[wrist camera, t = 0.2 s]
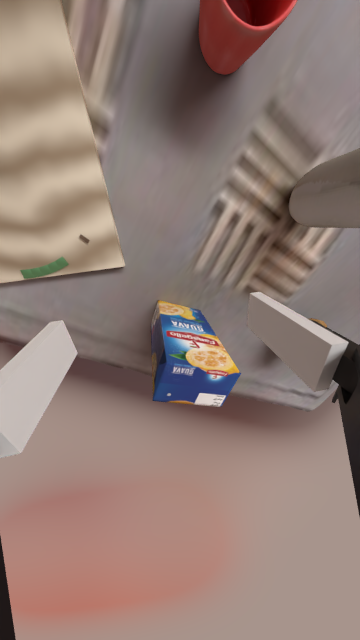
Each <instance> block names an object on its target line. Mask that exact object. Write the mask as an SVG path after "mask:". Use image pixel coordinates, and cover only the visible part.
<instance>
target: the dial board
mask: <svg viewBox="0 0 360 640" xmlns="http://www.w3.org/2000/svg"><path fill="white" fill-rule="evenodd" d="M124 266H125V263H124V258H123V254H122V250H121V246H120V242H119V238H118V234H117V229H116V225H115V221H114V217H113V213H112V209H111V205H110V200H109V196H108V192H107V188H106V184H105V180H104V175H103V171H102V167H101V163H100V159H99V155H98V151H97V146H96V142H95V138H94V134H93V130H92V126H91V122H90V117H89V113H88V109H87V105H86V101H85V97H84V93H83V88H82V84H81V80H80V76H79V72H78V68H77V64H76V59H75V55H74V51H73V47H72V43H71V39H70V35H69V30H68V26H67V22H66V18H65V14H64V10H63V5H62V1H61V0H0V283H5V282H13V281H20V280H27V279H35V278H42V277H50V276H57V275H65V274H72V273H80V272H87V271H94V270H102V269H109V268H117V267H124Z"/></svg>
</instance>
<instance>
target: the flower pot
mask: <svg viewBox="0 0 360 640" xmlns="http://www.w3.org/2000/svg"><path fill="white" fill-rule="evenodd" d="M296 2H297V0H200V14H199V41H200V47H201V51H202V54H203V56H204V59H205V61H206V62H207V64H208V65H209V67H210V68H211V69H212V70H213V71H215V72H216V73H219V74H223V75H226V74H230V73H233V72H234V71H236V70H237V69H238V68H239V67H240V66H241V65H242V64H243V63H244V62H245V61H246V60H247V59H248V58H249V57H250V56H251V55H252V54H253V53H254V52H255V51H256V50H257V49H258V48H259V47H260V46H261V45H262V44H263V43H264V42H265V41H266V40H267V39H268V38H269V37H270V36H271V35H272V33H273V32H274V31H275V30H276V29H277V28H278V27H279V26H280V25H281V24H282V22H283V21H284V20H285V19H286V18H287V16H288V15H289V14H290V12H291V11H292V9H293V8H294V6H295V4H296Z"/></svg>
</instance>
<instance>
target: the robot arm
mask: <svg viewBox="0 0 360 640" xmlns="http://www.w3.org/2000/svg"><path fill="white" fill-rule="evenodd" d="M247 326H248V327H249V328H250V329H251V330H252V331H253V332H254V333H255V334H256V335H257V336H258V337H259V338H260V339H261V340H262V341H263V342H264V343H265V344H266V345H267V346H268V347H269V348H270V349H271V350H272V351H273V352H274V353H275V354H276V355H277V356H278V357H279V358H280V359H281V360H282V361H283V362H284V363H285V364H286V365H287V366H288V367H289V368H290V369H291V370H292V371H293V372H294V373H295V374H296V375H297V376H298V377H299V378H300V379H301V380H302V381H303V382H304V383H305V384H306V385H308V386H309V387H310V388H311V389H312V390H313V391H314V392H316V391H321V390H326V389H329V386H330V384H331V382H332V380H334V381H335V382H336V383H338V384H339V386H338V388H337V390H336V392H335V395H334V397H333V399H332V402H333V403H335V402H336V400H337V399H339V404H340V410H341V415H342V422H343V427H344V433H345V438H346V444H347V449H348V455H349V460H350V466H351V471H352V477H353V483H354V488H355V494H356V499H357V505H358V510H359V515H360V345H358V344H356V343H354V342H352V341H351V340H349V339H347V338H345V337H343V336H342V335H340V334H338V333H336V332H334V331H332V330H331V329H329V328H327V327H325V326H323V325H322V324H320V323H318V322H316V321H313V320H310V319H307V318H305V317H303V316H302V315H300V314H298V313H296V312H294V311H293V310H291V309H289V308H287V307H286V306H284V305H282V304H280V303H279V302H277V301H275V300H273V299H272V298H270V297H268V296H266V295H264V294H263V293H261V292H255V293H250V298H249V308H248V318H247ZM76 355H77V351H76V348H75V346H74V344H73V342H72V340H71V337H70V335H69V333H68V331H67V329H66V326H65V324H64V322H63V320H61V321H54V322H50V323H49V324H48V325H47V326H46V327H45V328H44V329H43V330H42V331H41V332H40V333H39V334H38V335H36V336H35V337H34V338H33V339H32V340H31V341H30V342H29V343H28V344H27V345H26V346H25V347H24V348H23V349H22V350H21V351H20V352H19V353H18V354H17V355H16V356H15V357H14V358H13V359H11V360H10V361H9V362H8V363H7V364H6V365H5V366H4V367H3V368H2V369H1V370H0V458H2V457H7V456H12V455H16V454H21V452H22V451H23V449H24V447H25V445H26V444H27V442H28V440H29V438H30V437H31V435H32V433H33V431H34V430H35V428H36V426H37V424H38V422H39V421H40V419H41V417H42V415H43V414H44V412H45V410H46V408H47V406H48V405H49V403H50V401H51V399H52V397H53V396H54V394H55V392H56V391H57V389H58V387H59V385H60V384H61V382H62V380H63V378H64V376H65V375H66V373H67V371H68V369H69V368H70V366H71V364H72V362H73V360H74V359H75V357H76ZM0 640H16V639H15V633H14V625H13V619H12V613H11V605H10V598H9V592H8V585H7V578H6V572H5V564H4V557H3V551H2V544H1V537H0Z"/></svg>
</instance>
